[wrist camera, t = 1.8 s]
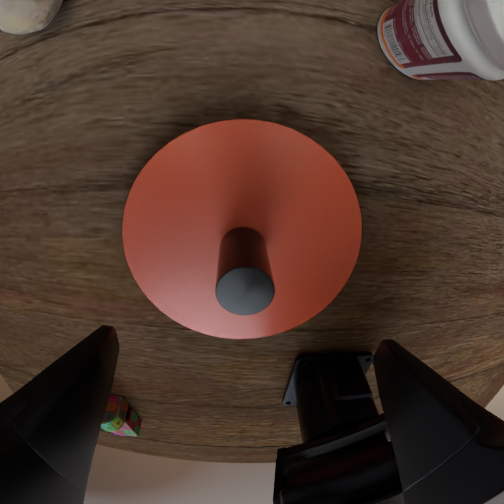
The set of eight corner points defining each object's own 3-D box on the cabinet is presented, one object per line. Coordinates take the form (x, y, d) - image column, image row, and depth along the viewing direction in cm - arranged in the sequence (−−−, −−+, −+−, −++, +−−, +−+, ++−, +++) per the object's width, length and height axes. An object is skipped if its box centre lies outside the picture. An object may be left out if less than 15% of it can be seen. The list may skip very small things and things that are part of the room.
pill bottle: (448, 35, 11) (552, 27, 3) (431, 95, 13) (545, 110, 5) (385, -9, 10) (480, -56, 2) (364, 52, 12) (472, 23, 4)
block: (88, 393, 23) (78, 420, 20) (122, 395, 23) (113, 425, 20) (115, 424, 26) (108, 449, 23) (146, 426, 26) (142, 453, 23)
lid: (326, 330, 20) (346, 386, 15) (138, 319, 19) (118, 376, 14) (375, 139, 14) (429, 157, 9) (127, 114, 13) (79, 120, 8)
